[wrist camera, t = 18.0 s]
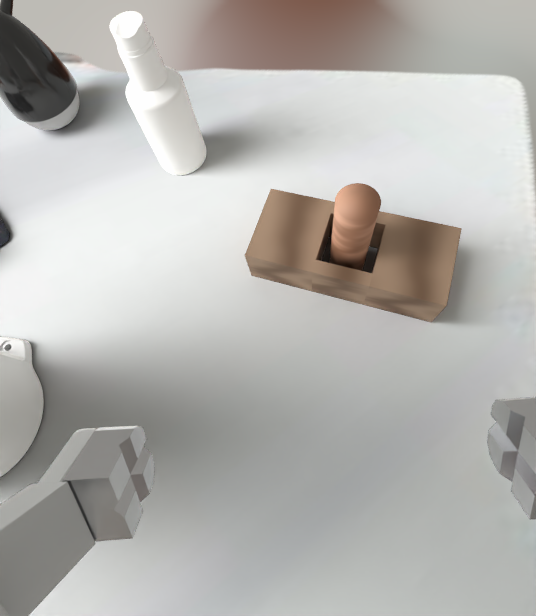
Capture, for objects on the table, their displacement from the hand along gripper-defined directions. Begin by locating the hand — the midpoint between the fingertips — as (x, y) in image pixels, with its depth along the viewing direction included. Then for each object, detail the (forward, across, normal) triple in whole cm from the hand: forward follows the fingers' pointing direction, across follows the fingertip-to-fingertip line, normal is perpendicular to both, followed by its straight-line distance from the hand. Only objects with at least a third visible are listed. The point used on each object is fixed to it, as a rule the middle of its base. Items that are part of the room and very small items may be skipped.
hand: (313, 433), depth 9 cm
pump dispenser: (+58, +34, -14) cm, 69 cm away
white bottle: (+50, +14, -6) cm, 53 cm away
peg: (+36, -6, +8) cm, 38 cm away
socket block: (+36, -6, +8) cm, 38 cm away
